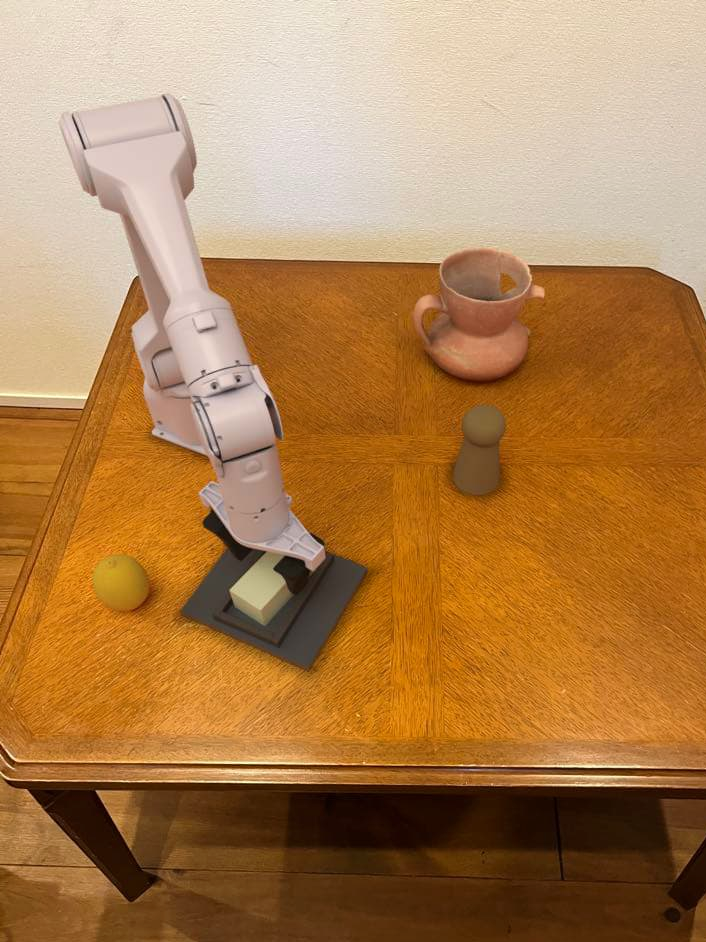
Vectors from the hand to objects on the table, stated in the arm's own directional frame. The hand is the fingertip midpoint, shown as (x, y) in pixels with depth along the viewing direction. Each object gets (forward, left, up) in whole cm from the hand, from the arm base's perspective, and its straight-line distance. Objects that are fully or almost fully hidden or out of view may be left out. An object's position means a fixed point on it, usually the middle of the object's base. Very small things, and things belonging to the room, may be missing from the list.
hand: (271, 570), depth 80 cm
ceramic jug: (+5, +47, -5) cm, 48 cm away
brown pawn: (+14, +26, -5) cm, 30 cm away
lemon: (-14, -8, -5) cm, 17 cm away
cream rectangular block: (0, 0, -4) cm, 4 cm away
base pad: (0, 0, -5) cm, 5 cm away
